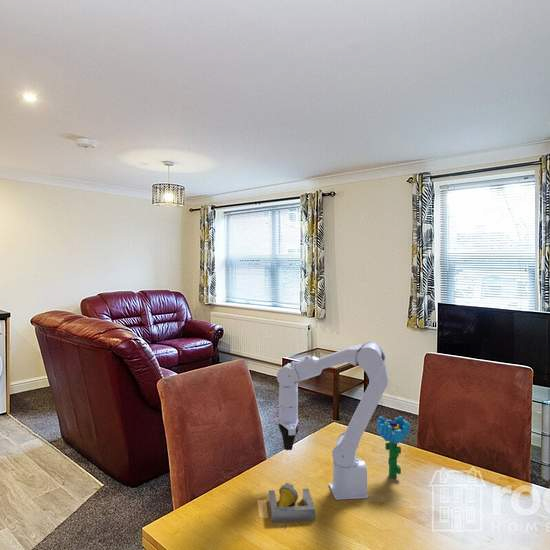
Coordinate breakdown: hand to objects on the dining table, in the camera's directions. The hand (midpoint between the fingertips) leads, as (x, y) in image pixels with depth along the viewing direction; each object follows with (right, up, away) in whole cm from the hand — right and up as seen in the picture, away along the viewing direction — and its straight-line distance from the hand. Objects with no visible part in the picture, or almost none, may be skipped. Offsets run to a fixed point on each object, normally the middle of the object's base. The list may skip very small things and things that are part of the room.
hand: (288, 449), depth 121 cm
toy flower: (+33, -10, +3) cm, 34 cm away
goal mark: (-7, -10, -14) cm, 19 cm away
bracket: (0, -10, -14) cm, 18 cm away
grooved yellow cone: (+1, -7, -8) cm, 10 cm away
